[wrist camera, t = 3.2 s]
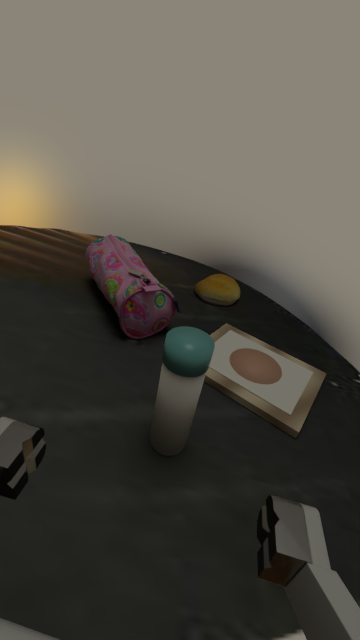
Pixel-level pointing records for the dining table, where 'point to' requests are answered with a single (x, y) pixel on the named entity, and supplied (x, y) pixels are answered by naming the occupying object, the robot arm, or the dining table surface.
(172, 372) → the marker
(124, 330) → the pencil case
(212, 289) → the bread roll
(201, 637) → the dining table surface
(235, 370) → the picture frame
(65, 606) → the dining table surface
